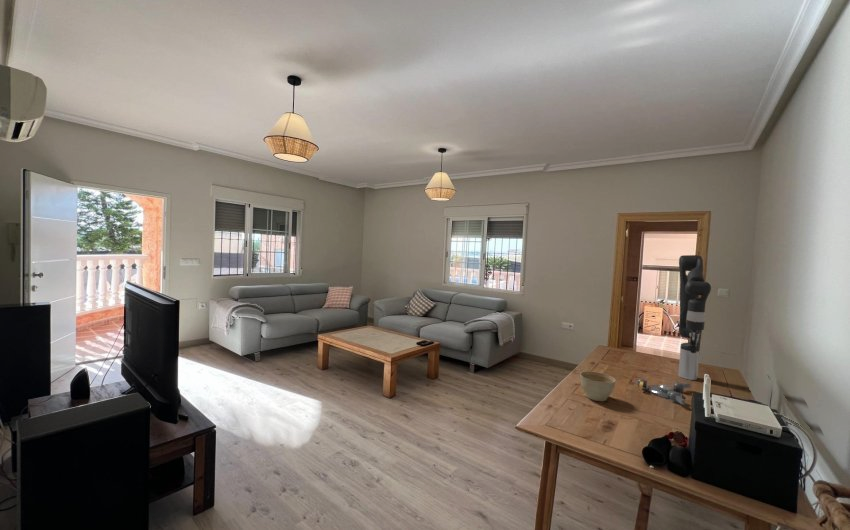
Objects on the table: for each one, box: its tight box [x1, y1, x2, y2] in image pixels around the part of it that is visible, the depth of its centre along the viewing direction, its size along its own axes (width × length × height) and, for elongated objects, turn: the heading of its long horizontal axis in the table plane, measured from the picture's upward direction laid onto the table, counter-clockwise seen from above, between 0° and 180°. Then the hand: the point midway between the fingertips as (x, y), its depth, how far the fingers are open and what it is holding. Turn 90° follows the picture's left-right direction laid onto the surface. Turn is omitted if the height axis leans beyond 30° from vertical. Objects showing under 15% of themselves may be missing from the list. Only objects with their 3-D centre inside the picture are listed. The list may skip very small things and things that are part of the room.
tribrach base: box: [641, 383, 683, 404], centre depth 191 cm, size 21×19×4 cm
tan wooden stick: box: [636, 378, 648, 390], centre depth 194 cm, size 10×4×3 cm, turn 144°
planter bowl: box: [579, 370, 617, 402], centre depth 180 cm, size 16×16×11 cm
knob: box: [669, 391, 686, 406], centre depth 177 cm, size 10×4×3 cm, turn 170°
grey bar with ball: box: [673, 381, 691, 392], centre depth 194 cm, size 10×4×3 cm, turn 110°
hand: (693, 352), depth 186 cm, fingers closed
